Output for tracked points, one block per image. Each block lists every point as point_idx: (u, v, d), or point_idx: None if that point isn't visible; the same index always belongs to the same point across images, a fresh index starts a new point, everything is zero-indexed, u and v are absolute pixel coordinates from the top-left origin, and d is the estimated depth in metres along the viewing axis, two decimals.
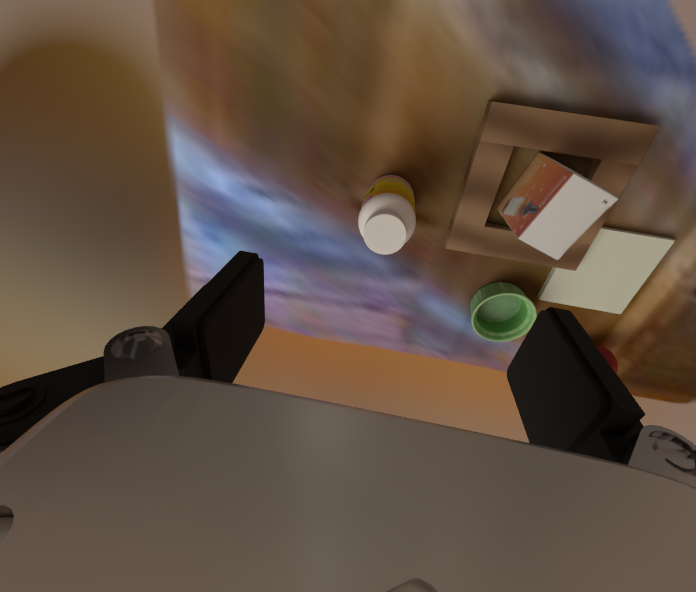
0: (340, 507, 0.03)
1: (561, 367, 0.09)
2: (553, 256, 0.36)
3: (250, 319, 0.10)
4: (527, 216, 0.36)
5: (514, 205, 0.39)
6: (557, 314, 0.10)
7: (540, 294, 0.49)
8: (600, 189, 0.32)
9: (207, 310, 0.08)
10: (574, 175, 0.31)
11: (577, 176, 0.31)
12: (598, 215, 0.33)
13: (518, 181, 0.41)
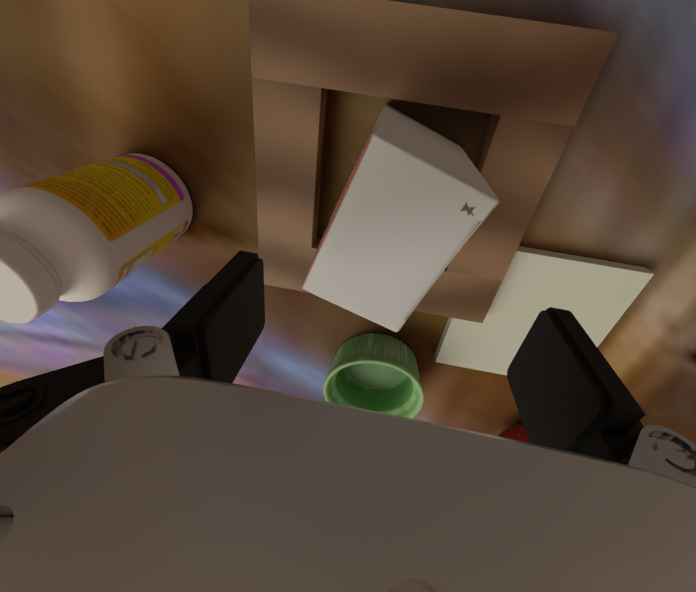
0: (340, 507, 0.03)
1: (561, 367, 0.09)
2: (385, 325, 0.17)
3: (250, 319, 0.10)
4: None
5: None
6: (557, 314, 0.10)
7: (437, 353, 0.30)
8: (449, 177, 0.12)
9: (207, 310, 0.08)
10: (375, 139, 0.12)
11: (383, 142, 0.12)
12: (459, 241, 0.14)
13: None
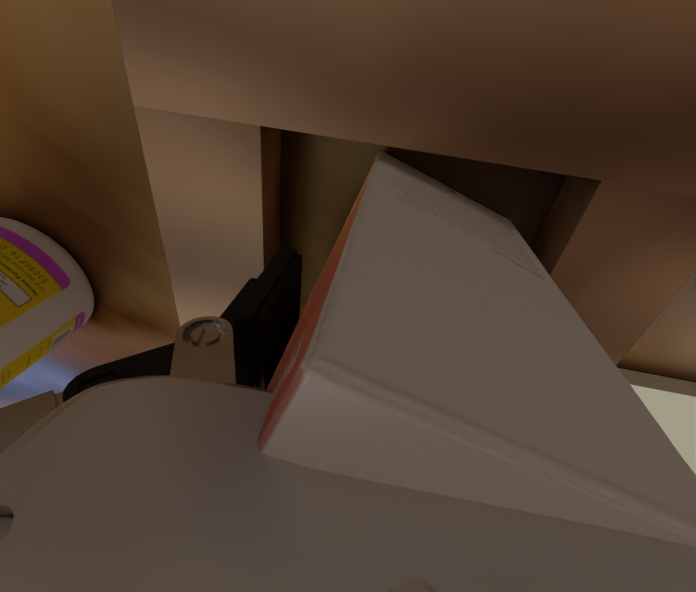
0: (340, 507, 0.03)
1: None
2: None
3: (290, 312, 0.11)
4: None
5: None
6: None
7: None
8: (586, 493, 0.03)
9: (262, 302, 0.08)
10: (314, 386, 0.03)
11: (349, 394, 0.03)
12: None
13: None
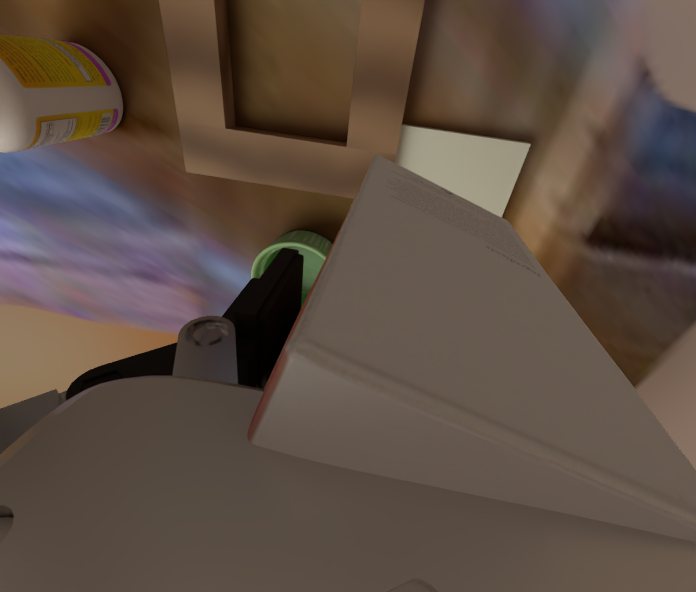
0: (340, 507, 0.03)
1: None
2: None
3: (292, 312, 0.11)
4: None
5: None
6: None
7: None
8: (573, 476, 0.03)
9: (264, 301, 0.08)
10: (299, 368, 0.03)
11: (333, 375, 0.03)
12: None
13: None
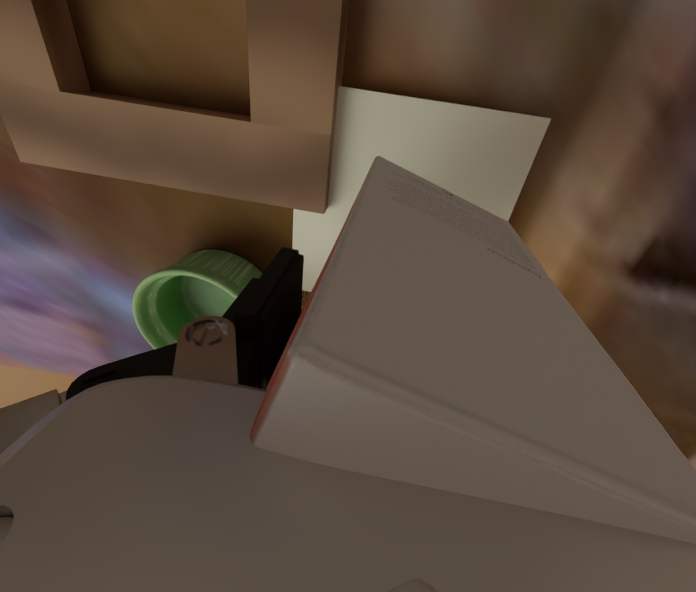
0: (340, 507, 0.03)
1: None
2: None
3: (292, 312, 0.11)
4: None
5: None
6: None
7: None
8: (575, 480, 0.03)
9: (264, 302, 0.08)
10: (301, 372, 0.03)
11: (335, 379, 0.03)
12: None
13: None
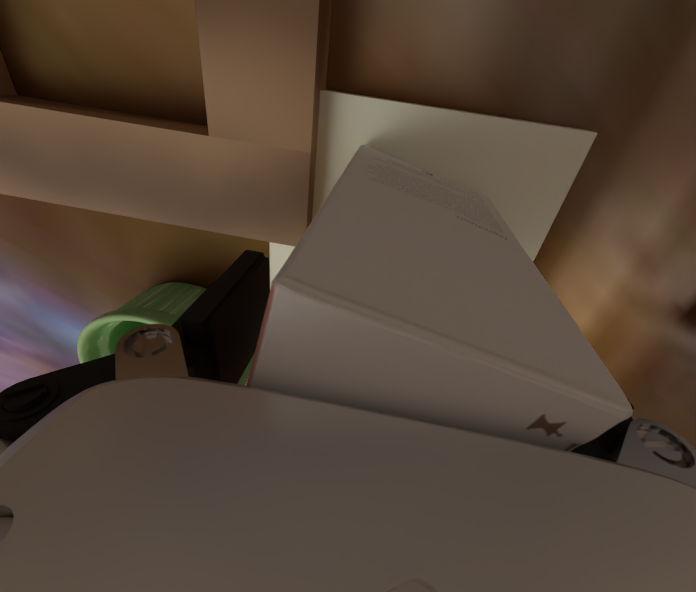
0: (340, 507, 0.03)
1: None
2: None
3: (256, 318, 0.11)
4: None
5: None
6: None
7: None
8: (494, 368, 0.05)
9: (216, 308, 0.08)
10: (282, 296, 0.04)
11: (307, 300, 0.04)
12: None
13: None
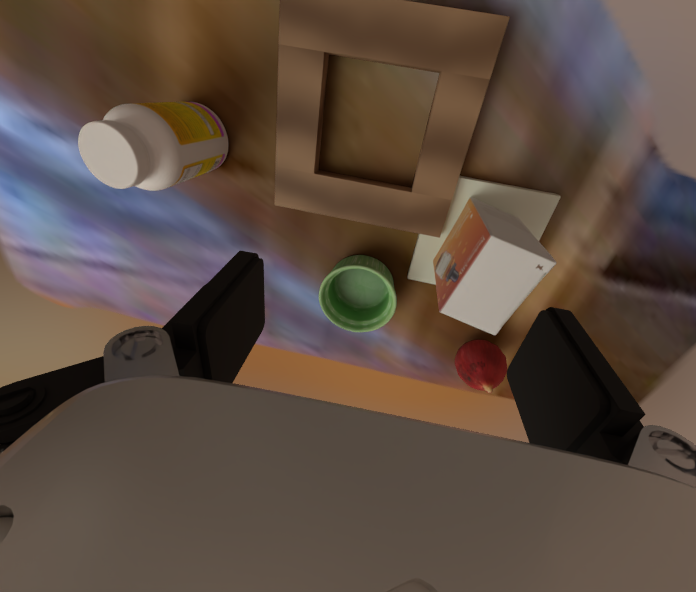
0: (340, 507, 0.03)
1: (561, 367, 0.09)
2: (488, 331, 0.28)
3: (250, 319, 0.10)
4: (449, 283, 0.28)
5: (444, 263, 0.32)
6: (557, 314, 0.10)
7: (408, 271, 0.38)
8: (530, 252, 0.24)
9: (207, 310, 0.08)
10: (492, 237, 0.24)
11: (496, 238, 0.24)
12: (534, 283, 0.25)
13: (451, 231, 0.34)
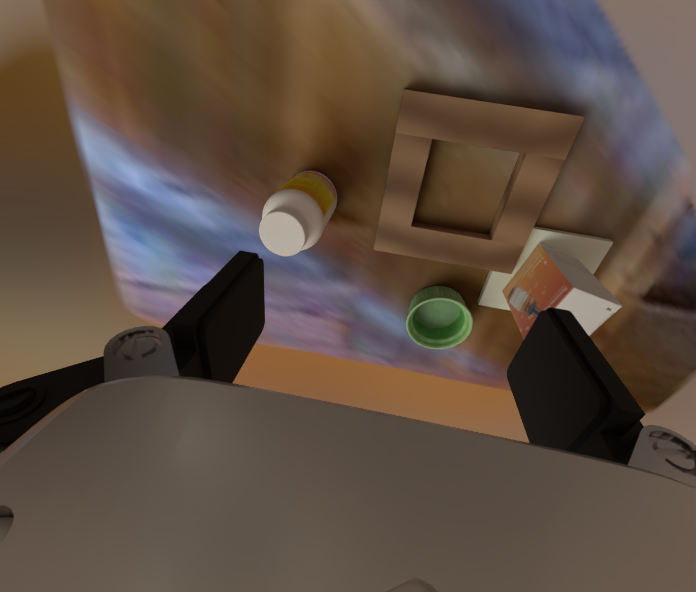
0: (340, 507, 0.03)
1: (561, 367, 0.09)
2: None
3: (250, 319, 0.10)
4: (532, 318, 0.36)
5: (519, 298, 0.40)
6: (557, 314, 0.10)
7: (479, 299, 0.46)
8: (602, 299, 0.32)
9: (207, 310, 0.08)
10: (574, 289, 0.32)
11: (577, 289, 0.32)
12: (603, 320, 0.33)
13: (521, 269, 0.42)
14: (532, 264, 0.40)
